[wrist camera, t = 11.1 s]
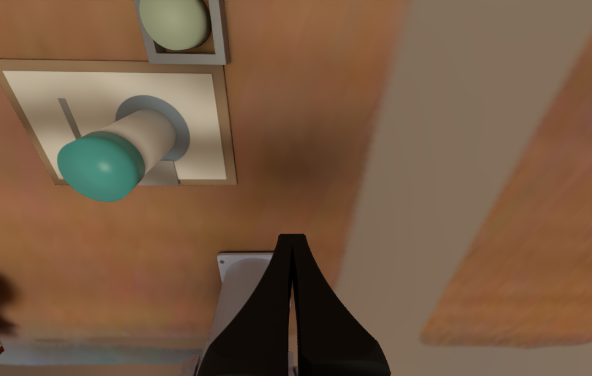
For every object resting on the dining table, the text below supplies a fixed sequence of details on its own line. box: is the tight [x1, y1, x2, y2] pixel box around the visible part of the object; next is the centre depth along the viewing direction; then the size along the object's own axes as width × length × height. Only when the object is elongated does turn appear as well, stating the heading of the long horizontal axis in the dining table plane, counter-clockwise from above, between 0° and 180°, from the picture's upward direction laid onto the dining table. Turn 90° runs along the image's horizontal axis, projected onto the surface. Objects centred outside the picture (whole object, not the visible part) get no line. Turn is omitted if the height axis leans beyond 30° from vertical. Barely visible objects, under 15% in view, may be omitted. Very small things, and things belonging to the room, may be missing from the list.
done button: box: [139, 0, 211, 50], centre depth 16 cm, size 3×3×3 cm
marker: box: [57, 109, 177, 202], centre depth 17 cm, size 4×4×7 cm
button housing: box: [134, 0, 230, 65], centre depth 16 cm, size 5×5×2 cm
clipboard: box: [0, 59, 237, 185], centre depth 20 cm, size 10×16×1 cm, turn 89°
